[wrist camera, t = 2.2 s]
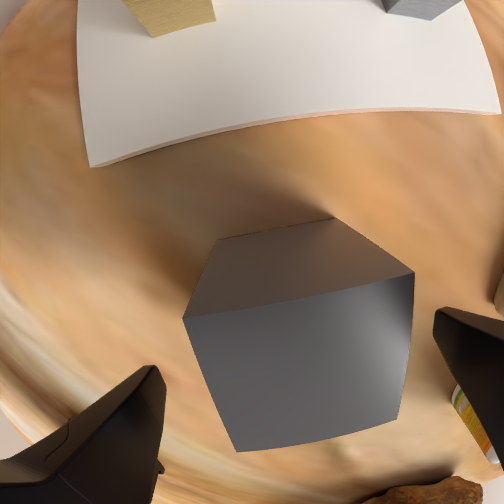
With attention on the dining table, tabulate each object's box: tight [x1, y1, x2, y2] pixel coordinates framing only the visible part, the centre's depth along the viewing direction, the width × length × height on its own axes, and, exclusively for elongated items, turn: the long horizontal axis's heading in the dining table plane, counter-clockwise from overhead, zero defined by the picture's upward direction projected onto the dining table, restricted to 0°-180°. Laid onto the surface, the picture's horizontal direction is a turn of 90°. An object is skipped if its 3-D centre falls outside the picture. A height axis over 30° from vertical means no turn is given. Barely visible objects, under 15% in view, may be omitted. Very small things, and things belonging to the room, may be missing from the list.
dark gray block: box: [182, 218, 415, 452], centre depth 10 cm, size 5×5×7 cm
